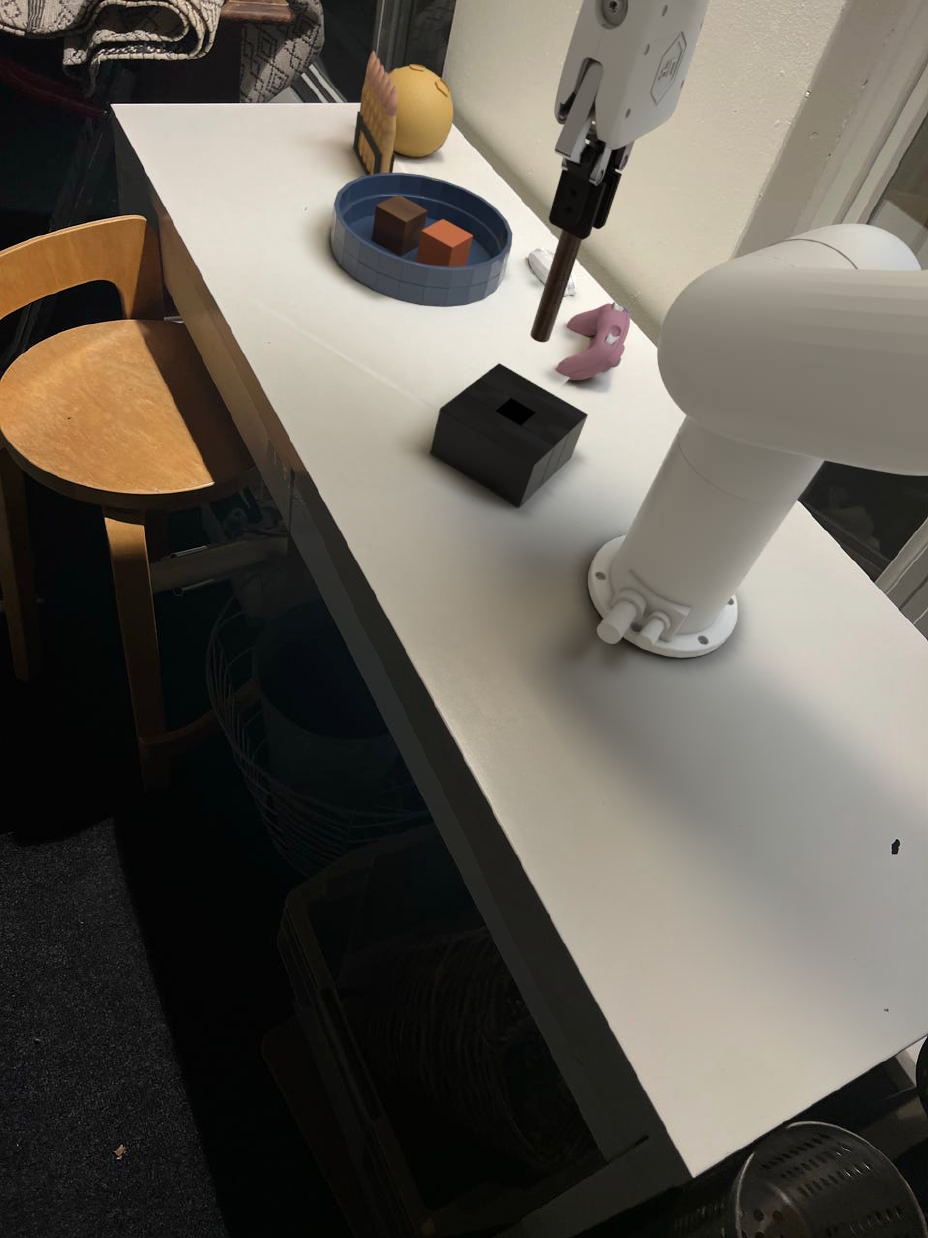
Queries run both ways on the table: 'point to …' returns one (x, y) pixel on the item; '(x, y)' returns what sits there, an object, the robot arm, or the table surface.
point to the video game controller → (597, 341)
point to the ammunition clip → (376, 120)
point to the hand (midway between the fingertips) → (576, 223)
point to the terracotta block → (444, 245)
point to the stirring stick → (556, 283)
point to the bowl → (403, 272)
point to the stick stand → (507, 434)
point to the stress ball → (420, 111)
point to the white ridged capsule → (548, 268)
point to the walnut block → (398, 225)
